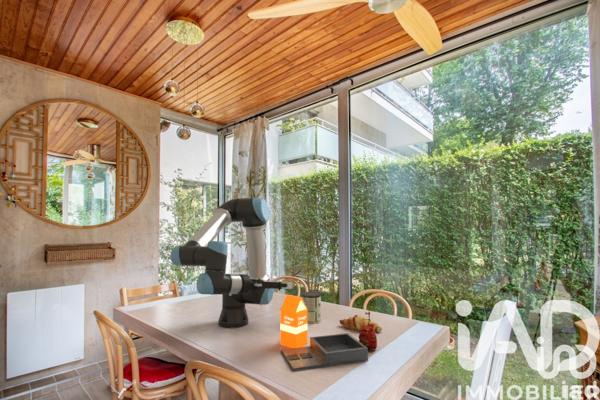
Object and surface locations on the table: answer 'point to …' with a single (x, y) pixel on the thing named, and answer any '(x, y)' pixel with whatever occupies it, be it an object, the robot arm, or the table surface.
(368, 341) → the red clay folk toy
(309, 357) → the tray
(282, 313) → the orange juice
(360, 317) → the croissant
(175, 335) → the table surface
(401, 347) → the table surface
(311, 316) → the coffee can
